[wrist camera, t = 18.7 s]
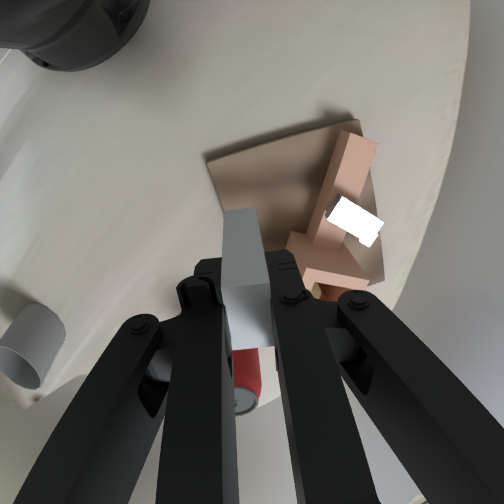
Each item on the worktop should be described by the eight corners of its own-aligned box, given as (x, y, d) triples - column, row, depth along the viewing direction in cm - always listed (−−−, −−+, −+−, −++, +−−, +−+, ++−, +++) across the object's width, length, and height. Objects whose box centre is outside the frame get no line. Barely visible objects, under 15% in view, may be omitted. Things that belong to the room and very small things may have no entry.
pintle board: (207, 160, 32) (200, 177, 25) (354, 118, 30) (384, 125, 24) (263, 311, 41) (268, 351, 34) (380, 274, 39) (404, 308, 33)
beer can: (203, 345, 43) (198, 415, 32) (210, 309, 40) (205, 381, 29) (250, 351, 44) (255, 421, 33) (260, 316, 41) (270, 387, 30)
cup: (75, 340, 42) (52, 388, 33) (42, 348, 43) (19, 391, 34) (44, 296, 38) (13, 341, 29) (13, 308, 39) (-17, 349, 30)
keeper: (348, 221, 36) (369, 247, 30) (309, 199, 34) (325, 222, 28) (361, 201, 35) (385, 223, 29) (323, 178, 33) (342, 196, 27)
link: (324, 289, 38) (343, 333, 31) (274, 280, 37) (283, 325, 30) (379, 144, 30) (418, 159, 23) (324, 124, 29) (353, 132, 22)
